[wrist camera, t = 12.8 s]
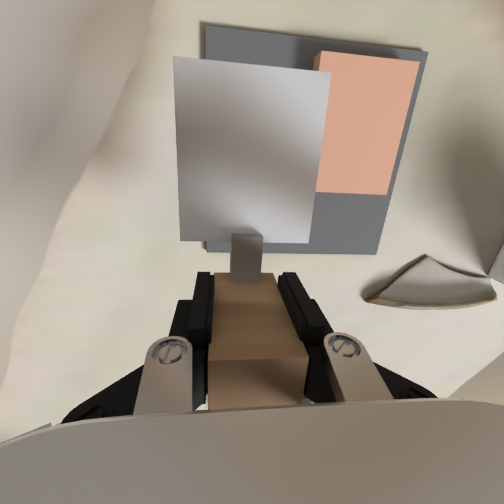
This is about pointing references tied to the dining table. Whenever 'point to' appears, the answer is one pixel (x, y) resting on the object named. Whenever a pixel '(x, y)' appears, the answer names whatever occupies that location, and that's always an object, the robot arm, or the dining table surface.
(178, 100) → the turner
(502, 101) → the dining table surface
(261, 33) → the mat
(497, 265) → the syrup box
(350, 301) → the dining table surface
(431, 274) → the ceramic fragment
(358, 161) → the tile
